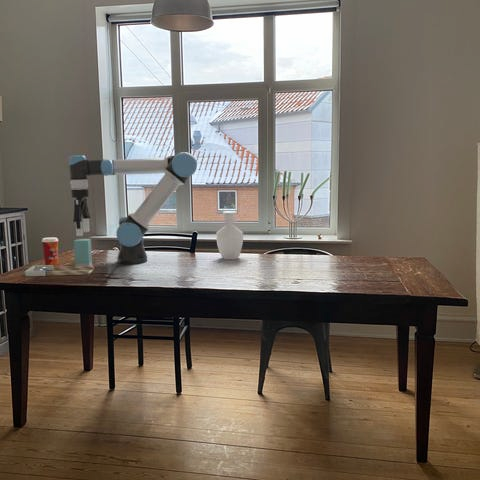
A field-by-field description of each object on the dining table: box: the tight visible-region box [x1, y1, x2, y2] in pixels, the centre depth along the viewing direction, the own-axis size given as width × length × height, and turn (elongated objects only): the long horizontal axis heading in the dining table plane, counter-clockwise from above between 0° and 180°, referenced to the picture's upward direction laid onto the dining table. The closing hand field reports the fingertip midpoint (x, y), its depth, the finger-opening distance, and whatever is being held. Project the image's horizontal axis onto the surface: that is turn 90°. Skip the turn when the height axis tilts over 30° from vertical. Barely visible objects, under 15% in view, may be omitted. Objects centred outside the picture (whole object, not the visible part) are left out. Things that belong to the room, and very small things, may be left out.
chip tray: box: [24, 264, 54, 277], centre depth 203 cm, size 8×12×3 cm
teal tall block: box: [73, 238, 93, 266], centre depth 215 cm, size 6×6×14 cm
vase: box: [215, 210, 244, 260], centre depth 240 cm, size 14×14×25 cm
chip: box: [36, 265, 47, 273], centre depth 205 cm, size 4×4×2 cm
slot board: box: [46, 265, 95, 276], centre depth 205 cm, size 18×11×2 cm, turn 96°
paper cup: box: [41, 237, 59, 267], centre depth 220 cm, size 8×8×14 cm
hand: (83, 233), depth 214 cm, fingers open, 13 cm apart
